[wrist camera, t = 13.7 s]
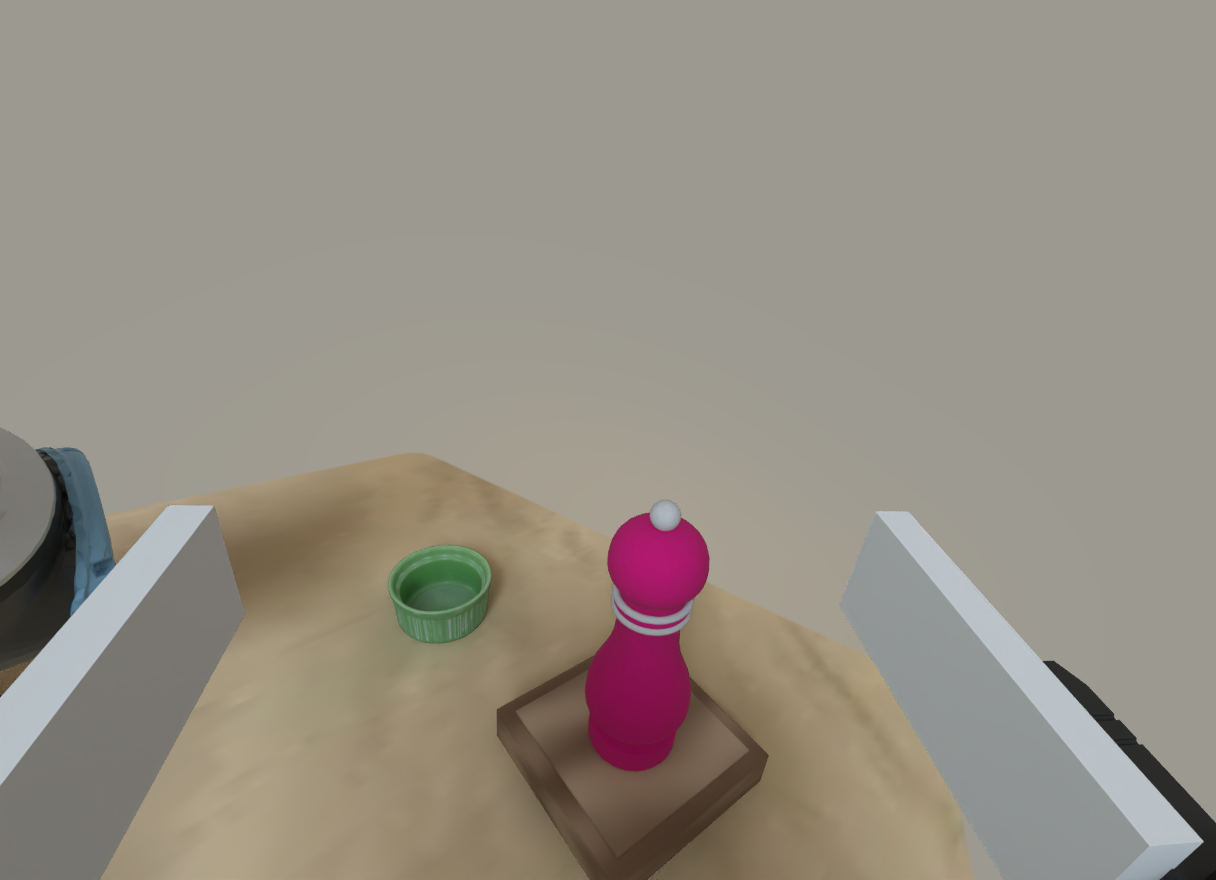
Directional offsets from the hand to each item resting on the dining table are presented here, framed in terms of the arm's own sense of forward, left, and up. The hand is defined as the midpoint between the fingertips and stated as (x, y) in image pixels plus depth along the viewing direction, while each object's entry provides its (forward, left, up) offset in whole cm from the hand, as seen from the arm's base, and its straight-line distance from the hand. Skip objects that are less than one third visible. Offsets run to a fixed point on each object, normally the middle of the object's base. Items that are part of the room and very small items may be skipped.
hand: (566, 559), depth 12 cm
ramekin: (-32, +10, -34) cm, 48 cm away
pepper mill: (-11, +15, -31) cm, 36 cm away
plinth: (-11, +15, -34) cm, 39 cm away
